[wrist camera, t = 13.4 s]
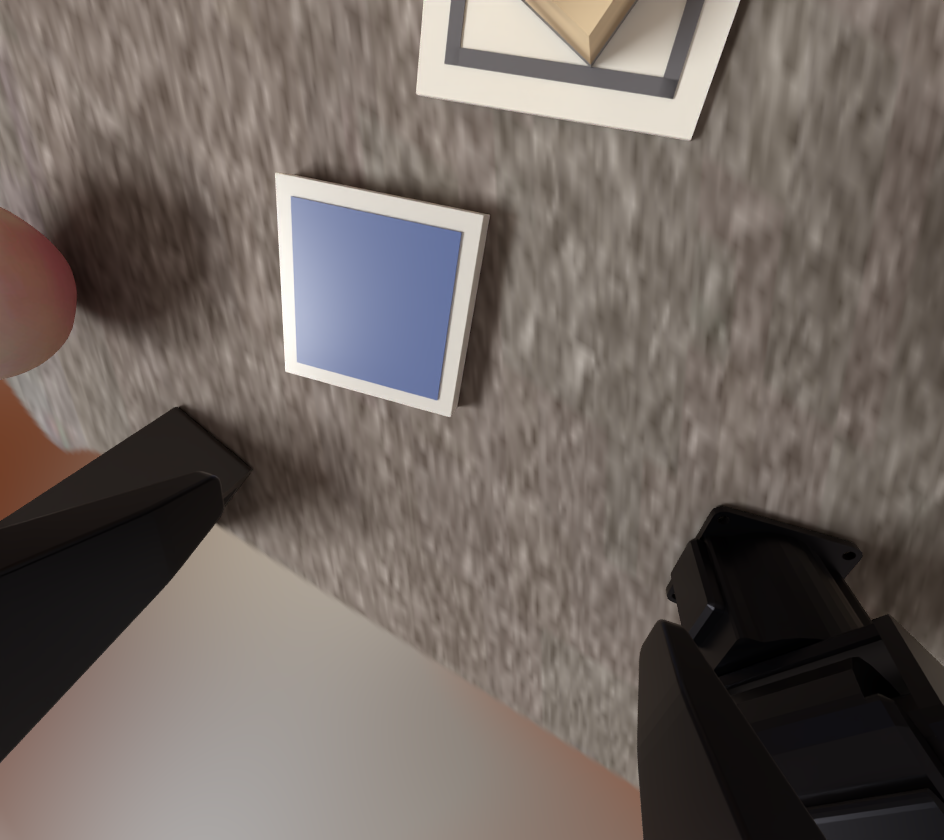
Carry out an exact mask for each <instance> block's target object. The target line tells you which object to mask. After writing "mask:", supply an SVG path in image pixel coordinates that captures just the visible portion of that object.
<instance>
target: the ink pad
mask: <svg viewBox="0 0 944 840" xmlns="http://www.w3.org/2000/svg"><path fill="white" fill-rule="evenodd" d="M275 179H276V199H277V218H278V237H279V256H280V275H281V294H282V314H283V333H284V352H285V371H286V372H289V373H293V374H296V375H300V376H304V377H307V378H311V379H314V380H318V381H322V382H325V383H329V384H332V385H336V386H340V387H343V388H347V389H350V390H354V391H358V392H361V393H365V394H368V395H372V396H376V397H379V398H383V399H386V400H390V401H394V402H397V403H401V404H404V405H408V406H411V407H415V408H419V409H422V410H426V411H429V412H433V413H437V414H440V415H444V416H447V417H451V416H452V414H453V413H454V411H455V410H456V408H457V406H458V400H459V394H460V388H461V382H462V376H463V371H464V365H465V359H466V353H467V347H468V341H469V336H470V330H471V324H472V318H473V312H474V306H475V300H476V295H477V289H478V283H479V277H480V271H481V265H482V260H483V254H484V248H485V242H486V236H487V230H488V224H489V219H490V215H489V214H484V213H479V212H475V211H470V210H465V209H460V208H455V207H450V206H445V205H440V204H435V203H430V202H426V201H421V200H416V199H411V198H406V197H401V196H396V195H391V194H386V193H381V192H377V191H372V190H367V189H362V188H357V187H352V186H347V185H342V184H337V183H332V182H328V181H323V180H318V179H313V178H308V177H303V176H298V175H293V174H284V173H275Z"/></svg>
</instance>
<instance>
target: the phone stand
mask: <svg viewBox="0 0 944 840" xmlns="http://www.w3.org/2000/svg"><path fill="white" fill-rule="evenodd" d="M196 471H203V472H206V473H209V474H212V475H215V476H217V477H218V478H219V479H220V482H221V488H222V494H223V501H224V508H225V506H226V505H227V503H228V502H229V501H230V499H231V498H232V497H233V495H234V494H235V493H236V491H237V490H238V489H239V487H240V486H241V485H242V483H243V482H244V481H245V479H246V478H247V477H248V475H249V474H250V473H251V471H252V469H251V468H250V467H249V466H248V465H246V464H245V463H244V462H243V461H242V460H240V459H239V458H238V457H237V456H236V455H235V454H233V453H232V452H231V451H230V450H229V449H227V448H226V447H225V446H224V445H223V444H221V443H220V442H219V441H218V440H217V439H215V438H214V437H213V436H212V435H211V434H209V433H208V432H207V431H206V430H205V429H203V428H202V427H201V426H200V425H199V424H197V423H196V422H195V421H194V420H193V419H191V418H190V417H189V416H188V415H187V414H185V413H184V412H183V411H182V410H181V409H179V408H178V407H175V408H173V409H171V410H170V411H168V412H167V413H165V414H164V415H162V416H161V417H159V418H157V419H156V420H154V421H153V422H151V423H150V424H148V425H147V426H145V427H144V428H142V429H141V430H139V431H138V432H136V433H135V434H133V435H131V436H130V437H128V438H127V439H125V440H124V441H122V442H121V443H119V444H118V445H116V446H115V447H113V448H112V449H110V450H109V451H107V452H105V453H104V454H102V455H101V456H99V457H98V458H96V459H95V460H93V461H92V462H90V463H89V464H87V465H86V466H84V467H83V468H81V469H80V470H78V471H77V472H75V473H74V474H72V475H70V476H69V477H67V478H66V479H64V480H63V481H61V482H60V483H58V484H57V485H55V486H54V487H52V488H50V489H49V490H48V491H46V492H44V493H43V494H41V495H40V496H38V497H37V498H35V499H34V500H32V501H31V502H29V503H28V504H26V505H24V506H23V507H21V508H20V509H18V510H17V511H15V512H14V513H12V514H11V515H9V516H7V517H6V518H4V519H3V520H1V521H0V528H4V527H7V526H11V525H14V524H17V523H21V522H24V521H28V520H31V519H35V518H38V517H41V516H45V515H48V514H52V513H55V512H59V511H62V510H65V509H69V508H72V507H76V506H79V505H83V504H86V503H89V502H93V501H96V500H100V499H103V498H106V497H110V496H113V495H117V494H120V493H124V492H127V491H130V490H134V489H137V488H141V487H144V486H148V485H151V484H154V483H158V482H161V481H165V480H168V479H171V478H175V477H178V476H182V475H185V474H189V473H192V472H196Z"/></svg>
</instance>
